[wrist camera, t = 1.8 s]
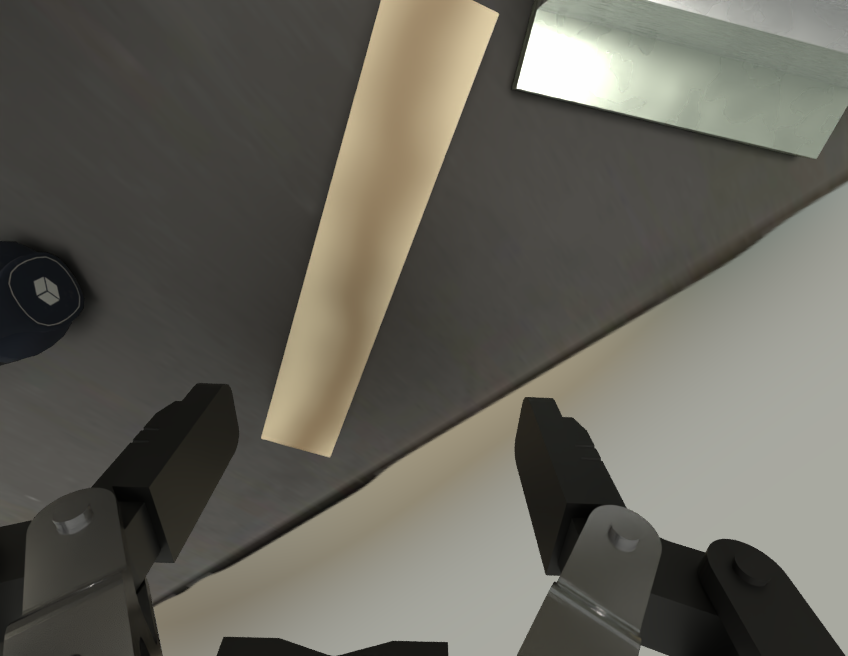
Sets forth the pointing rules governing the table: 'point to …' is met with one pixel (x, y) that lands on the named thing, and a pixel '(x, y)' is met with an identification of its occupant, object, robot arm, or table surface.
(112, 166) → the table surface
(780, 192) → the table surface
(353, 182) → the pine rod
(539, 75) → the stand
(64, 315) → the headphones
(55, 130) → the table surface
